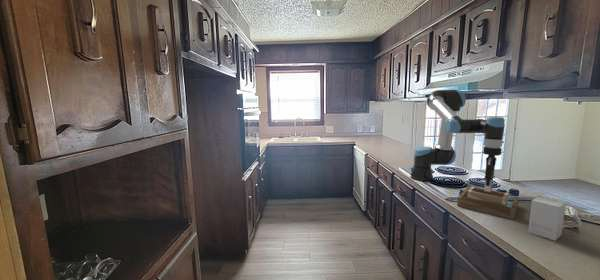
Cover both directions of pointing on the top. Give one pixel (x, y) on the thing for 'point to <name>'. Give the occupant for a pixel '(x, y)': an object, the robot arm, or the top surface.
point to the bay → (488, 206)
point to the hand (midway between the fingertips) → (487, 190)
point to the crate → (488, 195)
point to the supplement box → (547, 217)
